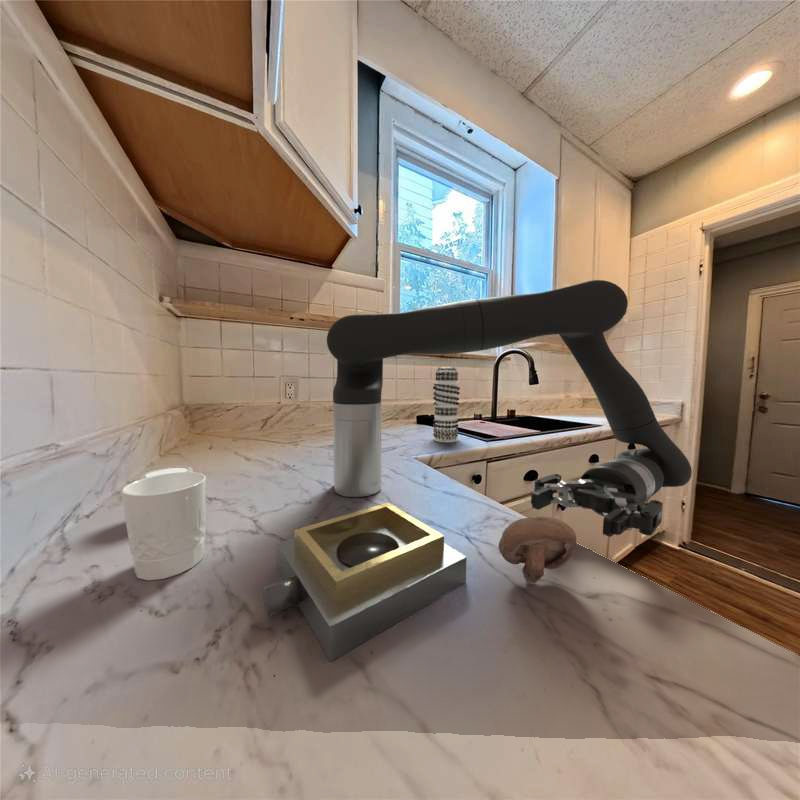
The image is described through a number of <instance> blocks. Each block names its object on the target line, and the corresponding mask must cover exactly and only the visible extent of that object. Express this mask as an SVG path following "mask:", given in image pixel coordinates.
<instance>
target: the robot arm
mask: <svg viewBox="0 0 800 800" xmlns="http://www.w3.org/2000/svg"><path fill="white" fill-rule="evenodd" d="M628 305H629V301H628V296H627V294H626V293H625V291H624V290H623V289H622V287H620V286H619V285H618V284H616V283H614V282H611V281H609V280H608V281H606V280H604V279H602V280H601V279H594V280H593V279H592V280H587V281H585V282H580V283H576V284H573V285H569V286H564V287H560V288H556V289H552V290H551V289H550V290H548V291H547V290H546V291H543V292H535V293H525V294H524V293H523V294H513V295H502V296H493V297H484V298H483V297H482V298H475V299H474V298H473V299H466V300H460V301H453V302H449V303H445V304H444V303H443V304H438V305H433V306H427V307H422V308H418V309H414V310H409V311H402V312H394V313H375V314H374V313H373V314H372V313H371V314H367V313H366V314H365V313H364V314H363V313H362V314H349V315H345V316H343V317H340V318H339V319H337V320H336V321H335V322H333V324H332V325H331V327H330V328H329V330H328V332H327V336H326V345H327V350H328V351H329V352H330V354H331V355H332V356H333V357H334V359H335V360H337V362H336V363H337V366H336V367H337V368H336V371H337V372H336V380H335V385H334V387H333V390H332V401H333V402H332V410H333V411H332V414H333V415H332V416H333V420H332V421H333V423H332V424H333V442H332V443H333V487H334V492H335V493H336V494H338V495H340V496H343V497H347V498H348V497H350V498H351V497H352V498H361V497H367V496H372V495H375V494H376V493H378V492H380V491H381V489H382V391H383V390H382V389H383V384H384V383H383V381H384V379H383V378H384V377H383V375H384V374H383V373H384V372H383V371H384V359H386V358H391V357H398V356H402V355H403V356H404V355H410V354H411V355H414V354H417V355H418V354H420V355H454V354H456V355H457V354H466V353H473V352H474V353H475V352H481V351H486V350H491V349H496V348H501V347H504V346H505V347H506V346H509V345H513V344H516V343H519V342H523V341H525V340H526V341H527V340H530V339H534V338H537V337H544V336H550V335H559V337H560V338H561V340H562V341H563V343H564V344H565V345H566V347H567V348H568V350H569V351H570V352H571V354H572V356H573V358H574V359H575V361H576V363H577V364H578V365H579V367H580V369H581V370H582V372H583V374H584V375H585V378H586V379H587V380H588V383H589V384H590V386H591V388H592V390H593V392H594V394H595V396H596V399H597V401H598V402H599V404H600V406H601V409H602V411H603V414H604V416H605V418H606V420H607V423H608V425H609V427H610V430H611V432H612V434H613V436H614V437H615V439H616V440H617V441H619V442H620V443H625V444H631V445H639V446H643V447H646V448H639V449H629V450H624V451H621V452H620V453H619V454H618V455H617V458H616V459H610V460H608V461H606V462H602V463H601V464H598V465H595V466H593V467H591V468H588V469H587V470H585V472H584V473H583V474H582V475H581V477H580V478H579V479H577V480H562V475H561V474H558V473H553V474H549V475H547V476H544V477H541V478H536V479H535V480H534V491H533V492H531V494H530V495H531V497H530V505H531V507H532V509H535V510H537V511H539V510H540V509H541V510H542V509H543V508H545V507H548V506H550V505H551V504H560V505H562V507H564V508H581V509H583V510H591V511H593V512H594V513H596V514H597V515H599V516H602V517H603V522H602V523H603V524H602V535H604V536H606V537H609V538H611V537H613V536H614V535H615V536H620V535H622V534H623V533H624V532H627V531H629V532H631V531H632V529H636V530H638V533H640V534H642V535H645V536H652V535H653V534H654V533H655V531H656V530H657V528H658V527H659V526H660V525H661V524H662V519H663V518H662V516H663V506H664V503H663V502H662V501H659V500H657V499H653V500H652V499H651V497H653V496H654V495H656V494H657V493H658V492H659V491H660V490H661V488H677V487H683V486H685V485H687V484H688V483H689V481H690V480H691V478H692V474H693V472H692V471H693V470H692V466H691V463H690V461H689V459H688V457H686V455H685V454H684V453H683V451H682V450H681V449H680V448H679V446H677V445H676V444H675V442H674V441H673V440H672V439H671V438H670V436H668V434H667V433H666V432H665V430H664V429H663V428H662V426H660V425H661V424H659V422H658V420H657V418H656V415H655V412H654V409H653V408H652V406H651V403H650V401H649V399H648V397H647V395H646V393H645V391H644V389H643V388H642V387H641V385H640V384H639V383H638V381H637V380H636V379H635V378H634V376H632V375H631V373H630V372H629V371H628V370H627V369H626V368H625V367H624V366H623V365H622V364H621V363H620V361H619V359H617V358H616V356H615V354H614V353H613V352H612V350H611V349H610V346H609V344H608V342H607V340H606V338H605V335H604V333H605V332H608V331H610V330H611V329H612V328H614V327H616V326H617V324H618V323H619V322H621V320H622V319H623V318H624V316H625V314H626V313H627V309H628ZM554 494H556V495H557V494H558V496H554ZM569 497H570V498H571V499H569ZM650 499H651V500H650Z"/></svg>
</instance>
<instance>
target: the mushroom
mask: <svg viewBox="0 0 800 800" xmlns="http://www.w3.org/2000/svg"><path fill="white" fill-rule="evenodd" d="M576 544H577V535H576V532H575V531H574V529H573V528H572V527H571V526H570V525H569V524H568V523H566V522H565V521H562V520H559V519H558V518H554V517H551V516H550V517H547V516H535V517H530V516H529V517H524V518H520V519H517V520H515V521H513V522H512V523H510V524H509V525H507V527H506V528H504V530H503V532H502V533H501V538H500V539H499V542H498V550H499V553H500V555H501V556H502V558H503V559H504V560H505V561H506V562H507V563H509V564H511V565H519V564H524V566H523V567H522V575H523V578H524V580H525V583H528V584H529V585H534V586H535V585H536V584H537V582H538V581H540V580H541V579H542V577H544V575H545V570H546V569H548V570H554V569H558V568H560V567H562V566H565V564H566V563H567V562H568V561H569V560H570V558H571V556H573V552H574V551H575V548H576Z"/></svg>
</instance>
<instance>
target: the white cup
mask: <svg viewBox="0 0 800 800" xmlns="http://www.w3.org/2000/svg"><path fill="white" fill-rule="evenodd" d="M206 481H207V476H206V475H205V474H204V473H202V472H196V471H193V472H177V473H168V474H162V475H157V476H152V477H148V478H144V479H141V480H140V479H138V480H136V481H133V482H131V483H129V484H127V485H125V486H124V487H123V488H122V489H121V496H122V503H123V511H124V519H125V526H126V532H127V538H128V545H129V550H130V554H131V556H132V563H133V564H132V565H133V572H134V575H135V576H136V577H137V579H139V580H143V581H157V580H163V579H164V580H165V579H167V578H170V577H174V576H177V575H180V574H182V573H185V572H186V571H188V570H190V569H191V568H193V567H195V566H196V565H197V564H198V563H199V562H201V561H202V559H203V557H204V554H205V535H206V534H205V533H206V512H207V509H206V508H207V507H206V505H207V503H206V500H207V493H206V492H207V488H206V485H207V482H206Z"/></svg>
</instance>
